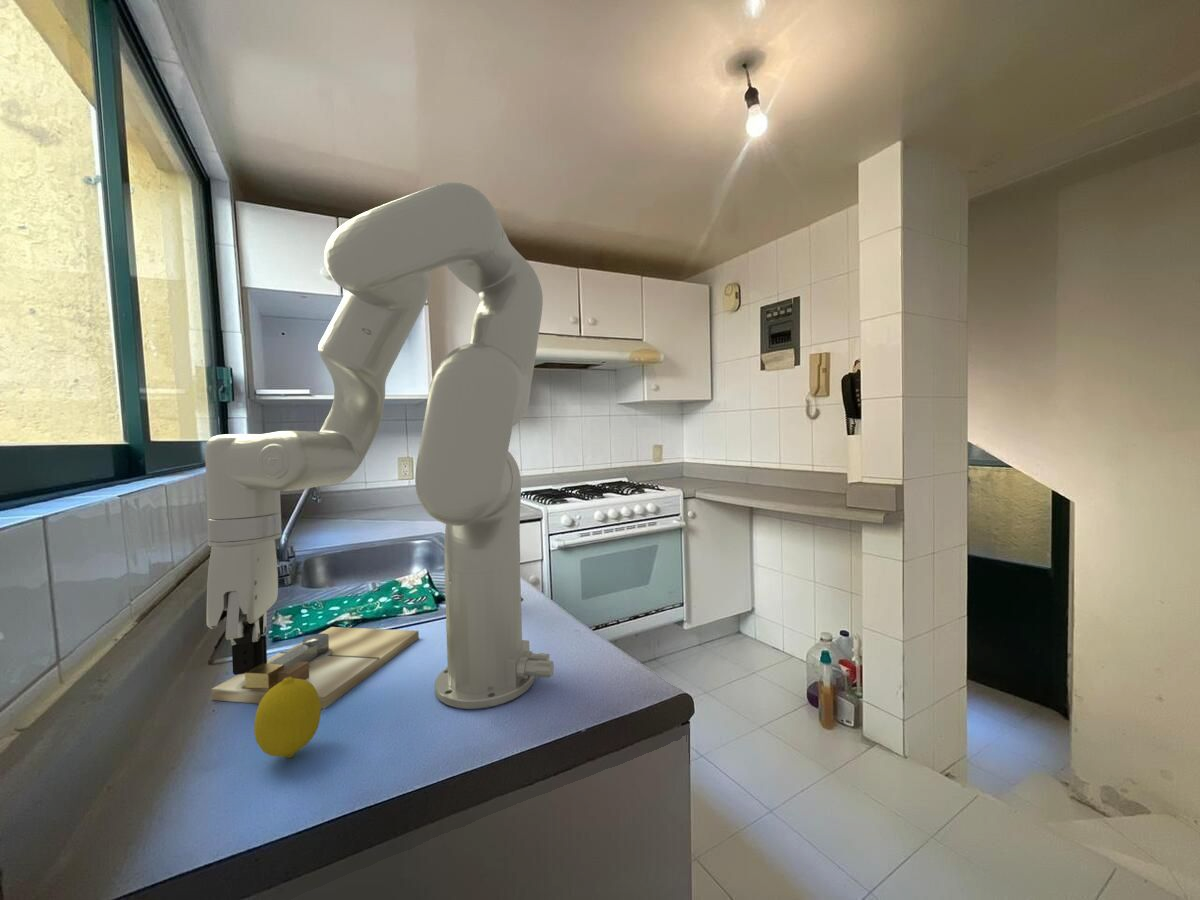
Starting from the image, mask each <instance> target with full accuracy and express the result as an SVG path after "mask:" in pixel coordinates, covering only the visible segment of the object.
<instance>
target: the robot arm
mask: <svg viewBox="0 0 1200 900" xmlns="http://www.w3.org/2000/svg"><path fill="white" fill-rule="evenodd" d="M323 258H324V259H323V260H324V266H325V268H326V271H327V273H328V275H329V276H330V278H331V279H332V280H333V281H334V282H335V283H336V284H337V285H338V286H339V287H340V288H342V289H344V290H345V292H344V296H343V297H342V299H341V301H340V304H339V305H338V306H337V309H336V310H335V313H334V315H333V317H332V318H331V320H330V322H329V324H328V326H327V327H326V330H325V331H324V334H323V336H322V337H321V339H320V341H319V343H318V345H317V346H318V347H317V348H318V349H317V350H318V354H319V357H320V358H321V360H322V361H323V363H324V365H325V366H326V368H327V370H328V372H329V374H330V376H331V379H332V382H333V391H334V392H333V399H332V400H333V401H332V405H331V408H330V410H329V413H328V415H327V417H326V418H325V420H324V422H323V424H322V426H321V428H320V430H319V431H316V430H315V431H310V430H279V431H273V432H267V433H261V434H260V433H235V434H234V433H233V434H232V433H227V434H226V433H225V434H217V435H213V436H211V437H210V438H209V439H208V440H207V441H206V443H205V449H204V455H205V456H204V458H205V461H204V462H205V483H206V485H205V486H206V513H207V516H206V518H207V545H208V546H209V547H211V548H210V554H209V555H210V556H209V560H208V567H207V568H208V571H207V582H206V583H207V584H206V626H207V627H208V628H209V629H213V630H214V629H217V628H218V627H219V626H221V625H222V624H224V622H225V621H226V622H225V623H226V626H225V640H230V645H231V655H232V656H231V657H232V658H231V661H232V674H233V675H235V676H237V675H239V674H245V673H246V672H248V671H249V670H251V669H253V668H255V667H257V666H258V665H260V664H267V659H268V652H267V650H268V648H267V633H266V632H267V624H268V623H267V619H268V615H267V614H268V613H267V612H268V610H270V608H271V607H272V606H273V605H274V604H275V603H276V601H277V599H278V597H279V596H278V594H279V576H278V575H279V572H278V558H277V547H276V541H275V540H277V539H280V538H281V537H282V533H283V532H282V512H281V511H282V509H281V505H282V504H281V492H291V491H292V492H293V491H300V490H308V489H313V488H318V487H324V486H332V485H337V484H340V483H342V482H344V481H346V480H347V479H349V478H351V477H352V476H353V474H354V473H356V471H357V470H358V468H359V467H360V466H361V464H362V462H363V460H364V459H365V457H366V455H367V453H368V451H369V450H370V448H371V447H372V446H371V445H372V444H373V442H374V440H375V438H376V436H377V434H378V433H379V432H378V431H379V428H380V427H381V423H382V418H383V413H384V412H383V411H384V406H385V405H384V404H385V400H386V399H385V397H386V382H387V378H388V376H389V373H390V372H391V369H392V368H393V366H394V364H395V362H396V360H397V359H398V356H399V355H400V352H401V351H402V349H403V347H404V344H405V343H406V341H407V339H408V337H409V335H410V333H411V331H412V329H413V328H414V326H415V324H416V322H417V320H418V319H419V316H420V314H421V313H422V310H423V308H424V306H425V305H426V302H427V300H428V297H429V294H430V290H431V289H430V285H431V284H430V278H429V276H428V272H431V271H434V270H436V269H439V268H441V267H445V266H446V268H447V269H448V270H449V271H451V273H452V274H453V275H454V276H455V277H456V279H458V281H460V282H461V283H462V284H463V285H464V286H466V287H468V288H469V289H470V290H472V291H473V292H474V293H475V294H476V295H477V296H478V301H479V303H478V305H477V308H476V310H475V312H474V316H473V320H472V325H471V330H470V331H471V333H470V338H469V343H468V344H464V345H461V346H458V347H456V348H454V349H453V350H452V351H450V352H449V353H448V354H447V355H445V356H444V357H443V359H442V360H441V362H440V363H439V365H437V368H436V369H435V372H434V374H433V377H432V379H431V382H430V386H429V391H428V397H427V401H426V402H427V403H426V406H425V407H426V408H425V413H424V417H423V418H424V419H423V425H422V430H421V434H420V435H421V436H420V442H419V448H418V454H417V459H416V460H417V461H416V465H415V474H414V475H415V476H414V479H415V492H416V495H417V498H418V501H419V502H420V504H421V506H422V508H423V509H424V511H425V512H426V513H427V514H428V515H430V516H431V517H432V518H433V519H434V520H437V521H438V522H440V523H442V524H444V525H445V529H444V530H445V532H444V550H443V551H444V552H443V553H444V589H445V590H444V591H445V593H444V595H445V596H444V597H445V620H446V621H445V626H446V627H445V628H446V629H445V631H446V632H445V633H446V658H447V659H446V661H447V666H446V667H445V668H444V669H443V670H442V671H441V672H440V673H438V674H437V677H436V679H435V683H434V691H435V692H434V693H435V695H436V698H437V699H438V700H439V701H440V702H442V703H443V704H445V705H447V706H450V707H453V708H458V709H465V710H467V709H469V710H475V709H477V710H478V709H485V708H490V707H491V708H492V707H496V706H499V705H503V704H506V703H508V702H510V701H512V700H514V699H516V698H518V697H520V696H522V695H523V694H524V693H526V692H527V691H529V689H530V687H532V685H533V683H534V682H535V680H536V677H537V678H545V679H546V678H548V679H551V678H552V677H553V675H554V669H555V668H554V666H555V664H554V661H553V660H550V654H549V653H545V652H544V653H541V652H540V653H533V650H530V640H527V639H525V640H524V639H523V627H522V626H523V624H522V622H523V621H522V592H521V590H522V589H521V586H522V585H521V544H520V543H521V539H520V538H521V537H520V535H521V534H520V533H521V530H520V528H521V526H520V525H521V524H520V523H521V521H520V520H521V500H522V480H521V478H522V477H521V472H520V468H519V466H518V465H519V464H518V463H517V461H516V460H515V457H514V456H513V455H512V454H511V452H510V451H509V447H510V442H511V438H512V431H513V427H514V426H515V425H517V424H518V423H519V422H520V421H521V420H522V419H523V417H524V416H525V414H526V413H527V410H528V407H529V404H530V397H531V387H532V382H533V380H532V379H533V374H534V368H535V363H536V356H537V352H538V351H537V349H538V341H539V336H540V328H541V322H542V315H543V305H544V304H543V302H544V300H543V299H544V297H543V296H544V295H543V290H542V289H543V288H542V285H541V282H540V280H539V278H538V276H537V273H536V271H535V270H534V268H533V266H532V265H531V264H530V263H529V262H528V260H527V259H525V258H524V257H523V255H521V253H519V251H517V250H516V248H515V247H514V246H513V245H512V244H511V242H510V240H509V238H508V235H507V234H506V232H505V230H504V228H503V225H502V222H501V220H500V218H499V215H498V214H497V211H496V209H495V208H494V205H493V204H492V203H491V201H490V200H489V199H488V197H487V196H486V195H485V194H483V193H482V192H481V191H480V190H478V189H477V188H475V187H474V186H471V185H468V184H465V183H462V182H445V183H439V184H435V185H432V186H430V187H427V188H424V189H422V190H419V191H416V192H413V193H410V194H407V195H405V196H403V197H400V198H397V199H394V200H391V201H389V202H387V203H383V204H381V205H379V206H375V207H374V208H371V209H369V210H367V211H364V212H362V213H360V214H358V215H356V216H354V217H352V218H350V219H348V220H347V221H345V222H344V223H342V224H341V225H340V226H338V228H336V229H335V230H334V231H333V233H332V234H331V235H330V237H329V238H328V240H327V241H326V245H325V248H324V254H323Z"/></svg>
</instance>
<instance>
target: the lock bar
mask: <svg viewBox="0 0 1200 900" xmlns="http://www.w3.org/2000/svg"><path fill="white" fill-rule="evenodd" d="M302 642H303V644H302V645H300V646H299V647H297V648H295V649H293V650H292V651H290V652H288V653H286V654H284V655H283V656H281V657H279V658H277V659H276V660H274V661H272V662H270V663H268V664H260V665H258V666H257V667H255V668H253V669H251V670H249V671H248V672H246V673H245V687H247V688H270V687H272V686H273V685H275V684H277V683H278V673H279V672H281V671H282V670H284V669H286V668H287V667H289V666H291V665H293V664H294V663H296V662H308V661H310V660H311V659H313V658H315V657H316V656H318V655H322V654H324V653H326V652H327V651H328V650H329V635H328V634H319V633H317V634H316V633H315V634H311V635H308V636H307V637H304V639H302Z"/></svg>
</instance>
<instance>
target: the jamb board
mask: <svg viewBox="0 0 1200 900" xmlns="http://www.w3.org/2000/svg"><path fill="white" fill-rule="evenodd" d="M318 634H328V635H329V650H328V651H327V652H326V653H324V654H322V655H318V656H316V657H315V658H313V659H311V660H310V661H308V662H296V663H294V664H293V665H291V666H289V667H287V668H286V669H284V670H282V671H281V672H279V673H278V683H280V682H282V681H283V679H285V678H287V677H292V678H293V679H303V680H306V681H308V682H309V683H311V684H312V685H313V686H314V688H315V689H316V691H317V693H318V696H319V699H320V703H321V710H325V709H326V708H328V707H330V706H331V705H332V704H333V703H334V702H336V701H337V700H338V699H340V698H341V697H343V695H345V694H347V693H348V692H349V691H351V689H353V688H354V687H356V686H357V685H358V684H360V683H362V681H364V680H365V679H366V678H368V677H370V676H371V675H372V674H373V673H375V672H376V671H378V670H379V669H380V668H381V667H383V666H384V665H385V664H386V663H387V662H389V661H390V660H392V659H394V657H396V656H397V655H398V654H400V653H401V652H403V651H404V650H405V649H406V648H408V647H409V646H411V644H413V643H414V642H415V641H417V640H418V639H419V637H420V635H419V634H420V633H419V630H408V629H407V630H404V629H382V628H365V627H364V628H363V627H345V626H344V627H343V626H341V627H340V626H338V627H337V626H330V627H329V628H327V629H325V630H323V631H320V632H319V633H318ZM302 644H303V641H302V642H300V643H299V644H296V645H294V646H293V647H291V648H288V649H287V650H285V651H280V652H279V653H277V654H275V655H273V656H271V657H269V658H267V664H268V663H270V662H272V661H274V660H276V659H277V658H279V657H281V656H283V655H284V654H286V653H288V652H290V651H292V650H293V649H295V648H297V647H299V646H300V645H302ZM278 683H277V684H278ZM275 685H276V684H275ZM275 685H273V686H272V687H274V686H275ZM272 687H270V688H247V687H245V674H239V675H235V676H233V677H231V678H229V679H227V680H225V681H224V682H221V683H220V684H218V685H216V686H214V687H212V688H211V700H212V701H222V702H232V703H233V702H234V703H245V704H246V703H247V704H258V705H259V703H260V701H261V700H262V698H263V697H264V695H265V694H266V693H267V692H268V691H269V690H270V689H271V688H272Z"/></svg>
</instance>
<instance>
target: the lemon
mask: <svg viewBox="0 0 1200 900" xmlns="http://www.w3.org/2000/svg"><path fill="white" fill-rule="evenodd" d="M321 713H322V709H321V703H320V699H319V696H318V693H317V691H316V689H315V688H314V686H313V685H312V684H311V683H309V682H308V681H306V680H303V679H293V678H292V677H287V678H285V679H283V681H282V682H280V683H278V684H276V685H275V686H274V687H272V688H271V689H270V690H269V691H268V692H267V693H266V694H265V695H264V697H263V698H262V700H261V701H260V703H259V704H258V706H257V709H256V712H255V717H254V726H253V731H254V739H255V741H256V743H257V745H258V746H259V748H260V749H261V751H262V752H264V753H265V754H266V755H269V756H271V757H276V758H278V757H283V758H285V759H291V758H292V757H294V755H296V753H297V752H299V751H300V750H302V749H303V748H304V747H305V746H307V745H308V744H309V742H310V741H311V740H312V739H313V738H314V736H315V734H316V733H317V731H318V728H319V725H320V721H321V715H322V714H321Z"/></svg>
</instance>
